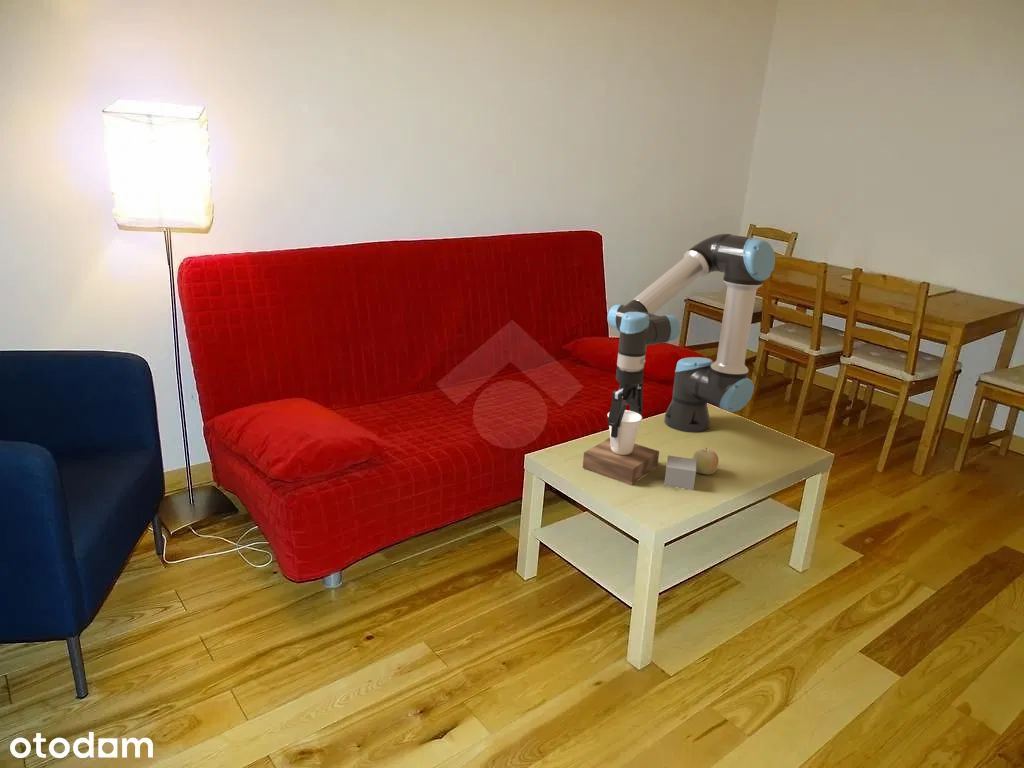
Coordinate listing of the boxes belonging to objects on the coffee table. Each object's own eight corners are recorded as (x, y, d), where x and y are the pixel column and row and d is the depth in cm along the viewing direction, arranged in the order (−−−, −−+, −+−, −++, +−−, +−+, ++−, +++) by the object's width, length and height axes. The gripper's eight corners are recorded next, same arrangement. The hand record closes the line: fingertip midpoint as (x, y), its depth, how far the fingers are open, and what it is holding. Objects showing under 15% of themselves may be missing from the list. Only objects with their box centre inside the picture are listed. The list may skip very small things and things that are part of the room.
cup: (597, 448, 209) (600, 413, 205) (622, 441, 214) (625, 407, 211) (620, 461, 201) (624, 425, 198) (645, 453, 207) (649, 418, 203)
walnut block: (610, 451, 220) (611, 436, 218) (657, 466, 211) (659, 451, 209) (582, 468, 208) (583, 452, 206) (631, 485, 199) (633, 469, 197)
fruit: (709, 480, 204) (713, 454, 201) (686, 472, 208) (689, 447, 206) (721, 472, 209) (725, 447, 206) (699, 464, 214) (702, 439, 211)
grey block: (665, 474, 207) (667, 455, 205) (693, 478, 205) (696, 459, 203) (663, 486, 199) (666, 466, 197) (693, 490, 198) (695, 471, 196)
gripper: (623, 380, 189) (615, 457, 196) (660, 362, 205) (652, 434, 213) (598, 373, 193) (592, 449, 200) (637, 356, 210) (629, 427, 217)
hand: (623, 441), depth 207 cm, fingers closed on cup, 9 cm apart
